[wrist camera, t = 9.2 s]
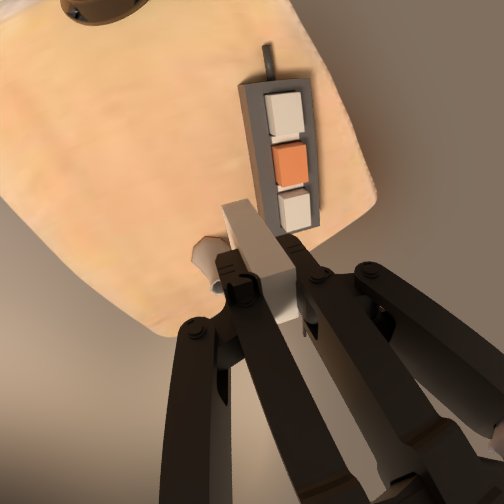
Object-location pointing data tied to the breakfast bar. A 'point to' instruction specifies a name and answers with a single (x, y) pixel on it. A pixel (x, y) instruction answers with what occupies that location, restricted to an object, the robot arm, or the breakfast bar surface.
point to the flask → (210, 260)
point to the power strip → (262, 142)
